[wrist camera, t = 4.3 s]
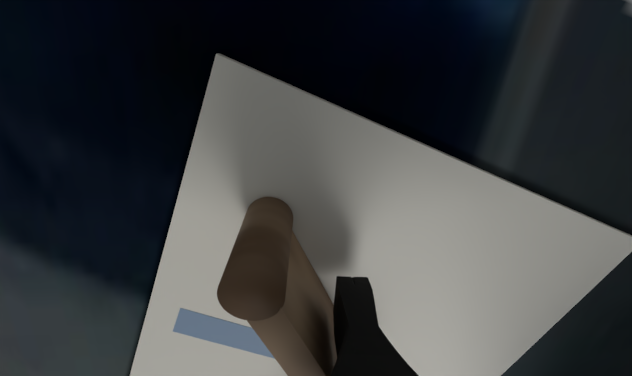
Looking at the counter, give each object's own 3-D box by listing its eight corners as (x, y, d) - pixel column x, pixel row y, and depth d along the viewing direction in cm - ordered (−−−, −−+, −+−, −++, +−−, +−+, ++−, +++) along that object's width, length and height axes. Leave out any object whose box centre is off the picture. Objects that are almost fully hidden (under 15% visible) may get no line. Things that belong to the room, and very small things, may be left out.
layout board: (634, 236, 14) (642, 241, 14) (386, 475, 24) (388, 482, 23) (219, 53, 11) (216, 53, 10) (119, 420, 20) (115, 427, 20)
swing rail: (381, 376, 18) (407, 501, 13) (348, 385, 18) (362, 511, 13) (280, 189, 13) (261, 281, 8) (237, 207, 13) (193, 306, 8)
